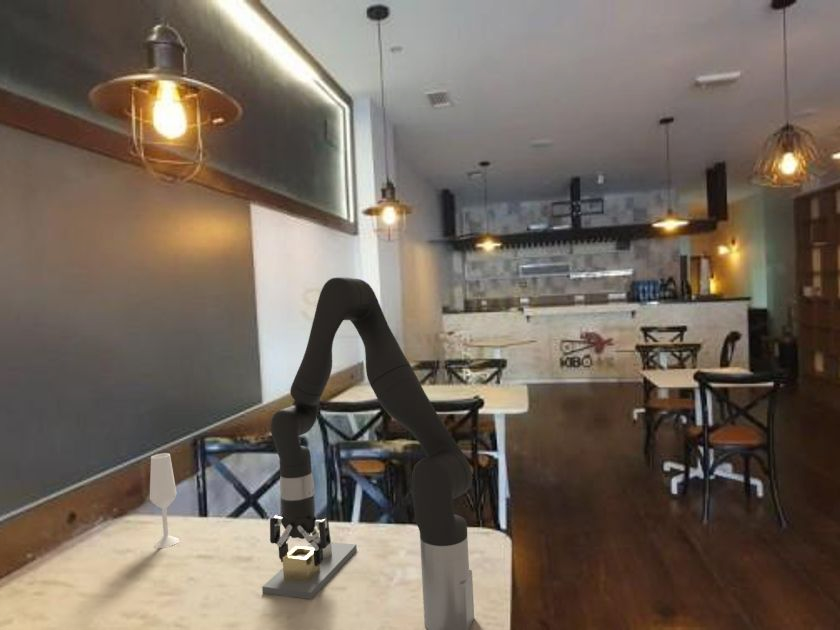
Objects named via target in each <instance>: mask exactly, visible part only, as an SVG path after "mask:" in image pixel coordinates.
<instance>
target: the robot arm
mask: <svg viewBox="0 0 840 630" xmlns="http://www.w3.org/2000/svg"><path fill="white" fill-rule="evenodd" d="M315 308H316V309H315V313H314V316H313V320H312V324H311V328H310V332H309V337H308V341H307V344H306V349H305V352H304V355H303V357H302V360H301V362H300V365H299V367H298V369H297V371H296V373H295V375H294V379H293V380H292V381H293V382H292V383H291V386H290V391H289V392H290V395H291V398H292V399H293V400H294V401H293V402H292V405H290V406H287V407H284V408H281V409H279V410H277V411H276V412H275V413H274V414H273V416H272V418H271V421H270V434H271V437H272V441H273V443H274V446H275V450H276V453H277V455H278V457H279V478H280V479H279V494H280V512H281V516H280V514H278V513H277V514H276V515H273V517H271V518H270V519H269V531H270V532H269V538H270V539H269V542H270V543H271V544H276V545H277V547H278V558H279V560H280V562H281V563H283V557H284V556H285V555H286V554H287V553H288V552H289V543H287V542H288V540H289V539H290V537H291V539H301V540H304V539H305V541H306V542H307V544H309V545H310V544H311V545H312V546H313V548H314V549H315V550H314V551H313V552H314V566H319V565H320V564H321V562H322V561H323V549H324V548H326V546H328V545H329V544H330V542H332V539H331V540H330V537H331V533H330V525H329V523H330V522H329V519H328V518H327V517H325V518H323V519H317V518H316V516H315V512H316V504H315V486H314V478H313V473H312V469H313V468H312V456H311V451H310V448H308V447H307V446H306V445H305V446H304V445H301V443H300V436H302V435H305V434H306V433H308V432H310V430H311V429H312V428H313V427H314V425H315V423H316V421H317V417H318V415H319V408H320V402H321V401H320V400H321V397H322V395H323V393H324V391H325V389H326V386H327V385H328V381H329V379H330V377H331V373H332V369H333V346H334V345H333V343H334V341H335V340H334V339H335V336H336V334H337V332H338V330H339V328H340V326H341V325H342V323H343V321H350V322H351V323H352V324H353V326H354V327H355V330H356V331H357V334H358V335H359V336H360V338H361V341H362V343H363V347H364V352H365V370H366V378H367V381H368V383H369V386H370V387H371V389H372V392H373V393H374V396H375V397H376V399H377V401H378V403H379V404H380V406H381V407H382V408H383V410H384V411H385V412H386V413H387V414H388V415H389V416H391V418H393V419H394V420H395V421H396V422H398V424H400V425H401V426H402V427H404V429H406V430H407V431H409V432H410V433H411V434H412V435H413V436H414V438H415V439H416V440H417V442H418V443H419V445H420V447H421V448H422V450H423V452H424V453H425V456H426V457H424V458H422V459H421V460H419V461H417V463H416V464H415V465H414V467H413V469H412V472H411V473H412V474H411V493H412V503H413V513H414V520H415V522H416V525H417V528H418V530H419V541H420V542H419V544H420V561H421V566H420V567H421V581H422V582H421V583H422V600H423V602H422V603H423V604H422V605H423V618H424V627H425V628H426V630H470V628H471V626H472V624H473V621H474V618H475V604H474V586H473V585H474V583H473V581H474V580H473V571H472V569H470V562H469V561H470V560H469V541H468V538H469V537H468V523H467V521H466V519H465V518H464V517H462V516H460V515H458V514H455V511H454V508H455V507H454V502H453V501H454V500H455V499H456V498H458V497H460V496H462V495H464V494H465V493H466V492H467V491H468V490H469V489H470V488H471V487H472V484H473V472H472V468H471V464H470V463H469V460H468V459H467V457H466V455H465V453H464V452H463V451H462V449H461V448H460V446H459V445H458V444H457V442H456V441H455V439H454V438H453V437H452V435H451V433H450V432H449V430H448V429H447V427H446V426H445V424H444V422H443V421H442V420H441V418H440V417H439V415H438V412H437V411H436V409H435V408H434V406H433V404H432V402H431V400H430V399H429V397H428V395H427V394H426V392H425V390H424V388H423V386H422V385H421V382H420V380H419V378H418V377H417V375H416V373H415V370H414V369H413V368H412V366H411V364H410V363H409V361H408V359H407V357H406V356H405V354H404V352H403V350H402V348H401V347H400V344H399V342H398V340H397V339H396V337H395V335H394V333H393V332H392V330H391V328H390V326H389V324H388V321H387V319H386V317H385V315H384V312H383V310H382V307H381V305H380V302H379V300H378V298H377V296H376V293H375V291H374V289H373V288H372V286H371V285H370V284H369V283H368V282H367V281H366V280H362V279H359V278H354V277H346V276H334V277H331V278H330V279H328V280H327V281H326V282H325V283H324V285H323V286H322V289H321V291H320V293H319V296H318V300H317V303H316V307H315ZM281 525H282V527H283V529H285V530H284V531H283V532H282V534H281ZM315 527H317V528H315ZM319 535H320V537H319Z"/></svg>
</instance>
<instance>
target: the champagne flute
mask: <svg viewBox="0 0 840 630" xmlns="http://www.w3.org/2000/svg"><path fill="white" fill-rule="evenodd" d="M149 474H150V481H149V500H150V502H152V504H153V505H155V506H156V507H158V508H160V509H161V517H162V529H163V531H162V532H163V536H161V537H160V538H159V539H158V540H156V541H155V542H154V543H153V545H152V546H153V548H155V547H156V548H155V549H163V548H164V549H165V548H170V547H172V545H173V546H174V544H175V545H177V544H178V543H179V542H180V540H179V539H180V538H178V537H175V536H172V535H170V534H169V525H168V523H169V521H168V511H167V510H168V509H167V508H168V507H169V506H170V505H171V504H172V503H173V502H174V500H175V499H176V497H177V494H178V492H177V488H176V482H175V477H174V476H175V475H174V469H173V464H172V457H171V454H170V453H165V452H163V453H156V454H154V455H152V456H150V473H149ZM176 543H177V544H176ZM169 546H170V547H169Z"/></svg>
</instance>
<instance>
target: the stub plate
mask: <svg viewBox="0 0 840 630" xmlns="http://www.w3.org/2000/svg"><path fill="white" fill-rule="evenodd" d="M319 537H320V534H319ZM330 540H331V542H330V544H329V545H328V546H326V548H324V549H323V561H322V562H321V564H320V570H319V571H318V572H317V573H316V574H315V575H314V576H313V577H312V578H311V579H310V580H309V581H308V582H304V581H296V580H287V579H284V574H283V568H281V569H280V570H279V571H278V572H277V573H275V575H273V576H272V577H271V578H270V579H269V580H268V581H267V582H266V583H265V584H263V585H262V587H261V588H262V594H266V595H273V596H282V597H289V598H297V599H306V600H312V599H313V598H314V597H315V596H316V594H317V593H319V592H320V590H321V589H322V588H323V587H324V586H325V585H326V584H327V583H328V582H329V581H330V580H331V579H332V578H333V577H334V575H335V574H336V573H337V572H338V571H339V570H340V569H341V568H342V567H343V566H344V565H345V564H346V562H347V561H348V560H349V559H350V558H351V557H352V556H353V555H354V554H355V553H356V552H357V550H358V549H357V544H355V543H345V542H343V543H342V542H334V541H333V542H332V536H330ZM306 547H313V546H312V545H311V544H310V543H309V545H308V546H306ZM297 556H298V557H305V556H306V555H305V554H300V555H297Z"/></svg>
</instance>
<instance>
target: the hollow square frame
mask: <svg viewBox="0 0 840 630" xmlns="http://www.w3.org/2000/svg"><path fill="white" fill-rule="evenodd" d="M314 550H315V549H314V548H313V547H307V546H302V545H295V546H294V547H293V548H291V549H290V551H289V550H288V553H287V554H286V555H285V556H284V557H283V562H282V569H283V574H284V579H287V580H296V581H304V582H308V581H309V580H310V579H311V578H312V577H313V576H314V575H315V574H316V573H317V572H318V571H319V570H320V565H319V566H314V552H313V551H314ZM300 554H305V555H306V556H305V557H298V556H297V555H300Z"/></svg>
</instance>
